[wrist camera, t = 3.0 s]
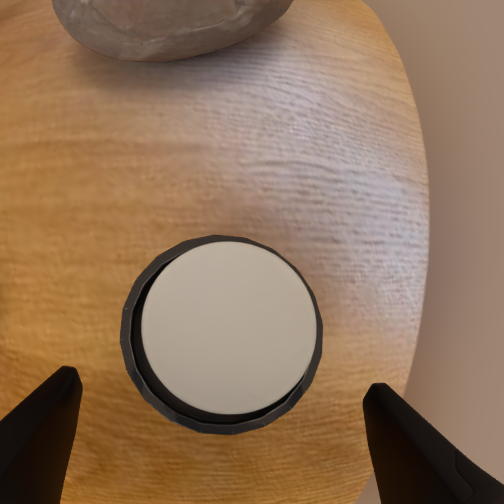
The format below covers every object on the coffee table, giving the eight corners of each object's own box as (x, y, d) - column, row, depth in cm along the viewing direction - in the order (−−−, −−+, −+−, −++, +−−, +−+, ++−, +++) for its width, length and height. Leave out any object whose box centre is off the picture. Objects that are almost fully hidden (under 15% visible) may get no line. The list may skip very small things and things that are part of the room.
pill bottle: (249, 274, 19) (291, 197, 9) (284, 367, 17) (365, 382, 8) (155, 305, 17) (99, 254, 8) (189, 401, 16) (167, 459, 7)
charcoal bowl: (264, 434, 16) (281, 458, 12) (118, 376, 16) (92, 383, 12) (316, 295, 19) (346, 279, 15) (178, 238, 19) (171, 206, 15)
